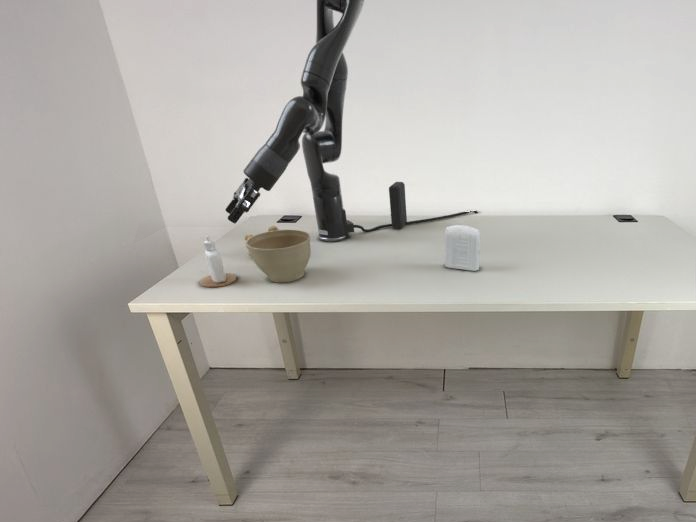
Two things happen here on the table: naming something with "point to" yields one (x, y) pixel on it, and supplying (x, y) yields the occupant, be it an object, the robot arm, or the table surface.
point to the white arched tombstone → (462, 247)
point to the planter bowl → (281, 253)
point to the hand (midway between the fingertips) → (229, 216)
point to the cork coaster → (210, 283)
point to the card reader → (397, 205)
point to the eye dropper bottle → (214, 261)
